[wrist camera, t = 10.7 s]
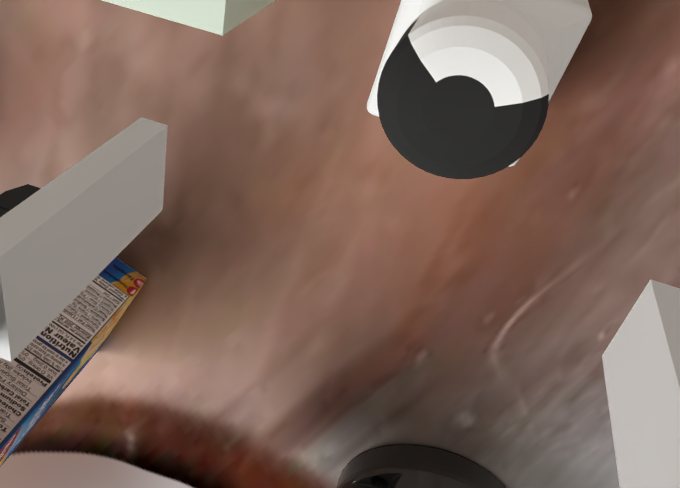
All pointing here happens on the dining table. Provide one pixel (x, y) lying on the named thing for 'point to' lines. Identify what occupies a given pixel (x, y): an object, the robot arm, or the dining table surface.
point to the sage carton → (199, 11)
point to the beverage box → (61, 352)
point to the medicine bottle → (473, 79)
